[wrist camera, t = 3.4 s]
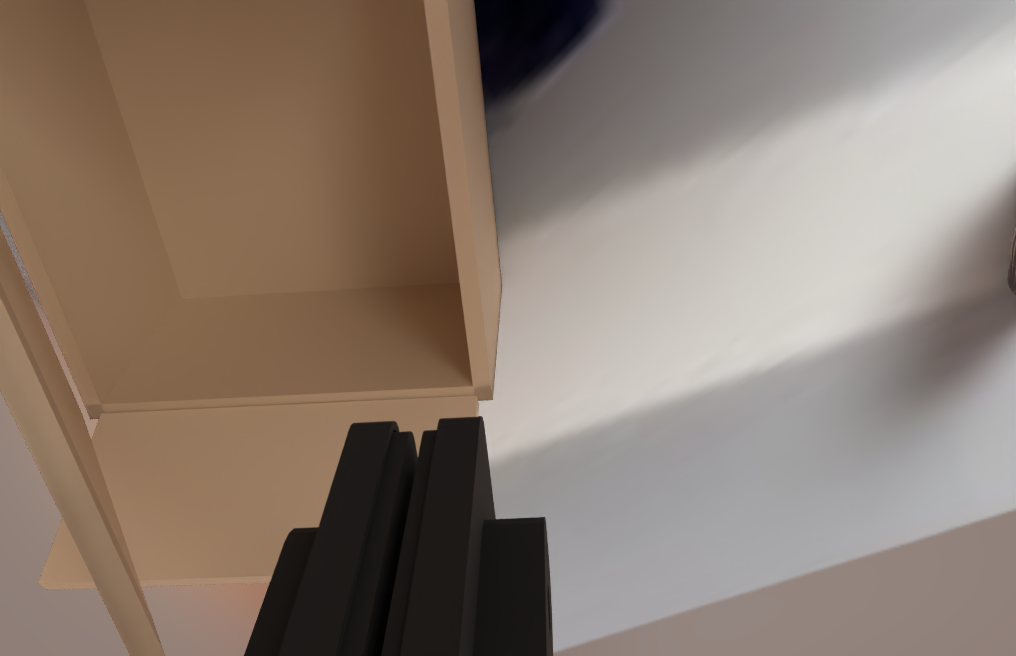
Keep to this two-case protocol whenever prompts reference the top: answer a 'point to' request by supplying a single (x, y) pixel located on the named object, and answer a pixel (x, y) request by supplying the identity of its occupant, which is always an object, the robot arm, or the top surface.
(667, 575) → the top surface
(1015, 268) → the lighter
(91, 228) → the carton
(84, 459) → the lid flap
